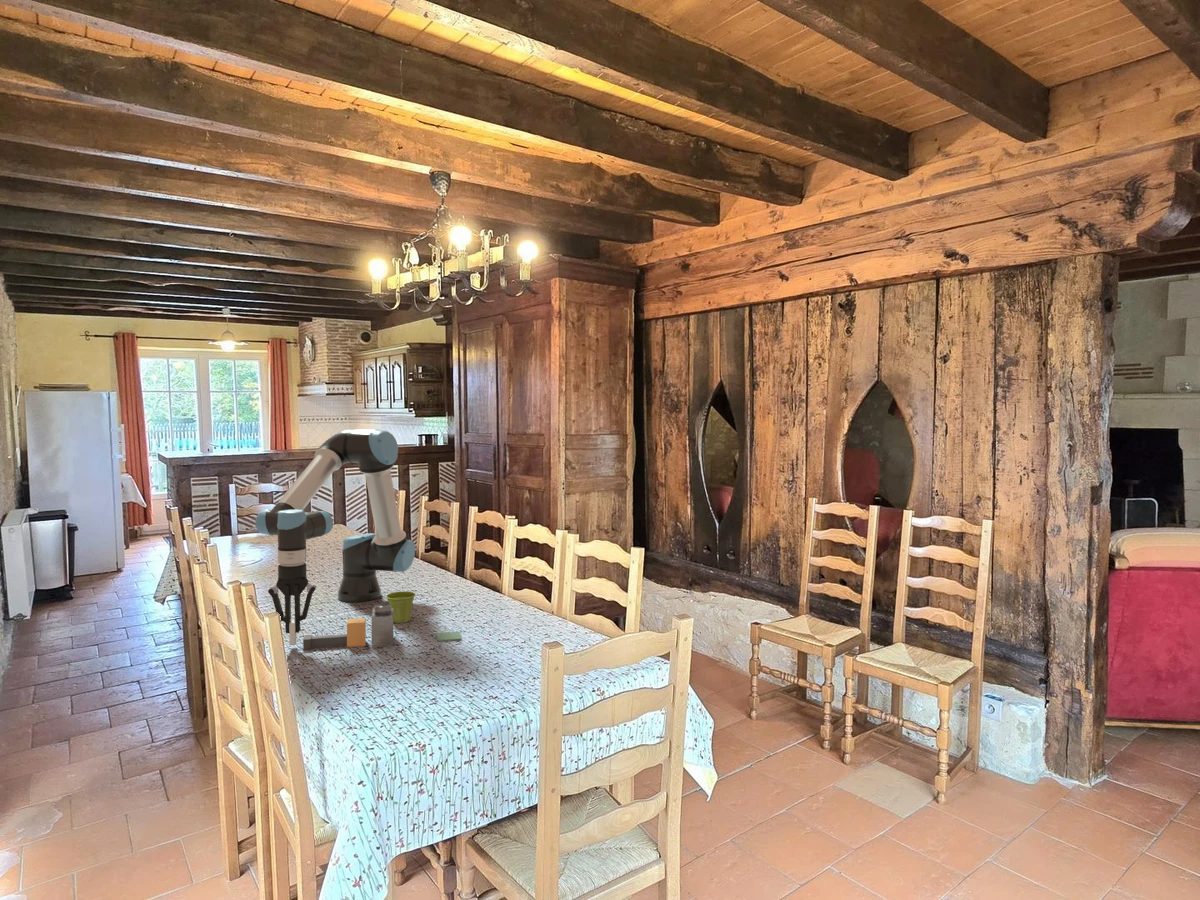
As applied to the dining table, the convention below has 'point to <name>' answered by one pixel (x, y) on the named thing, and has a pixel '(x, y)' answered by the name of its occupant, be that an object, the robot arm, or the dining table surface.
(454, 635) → the mat
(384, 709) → the dining table surface
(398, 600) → the plant pot
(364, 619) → the plug
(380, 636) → the housing
